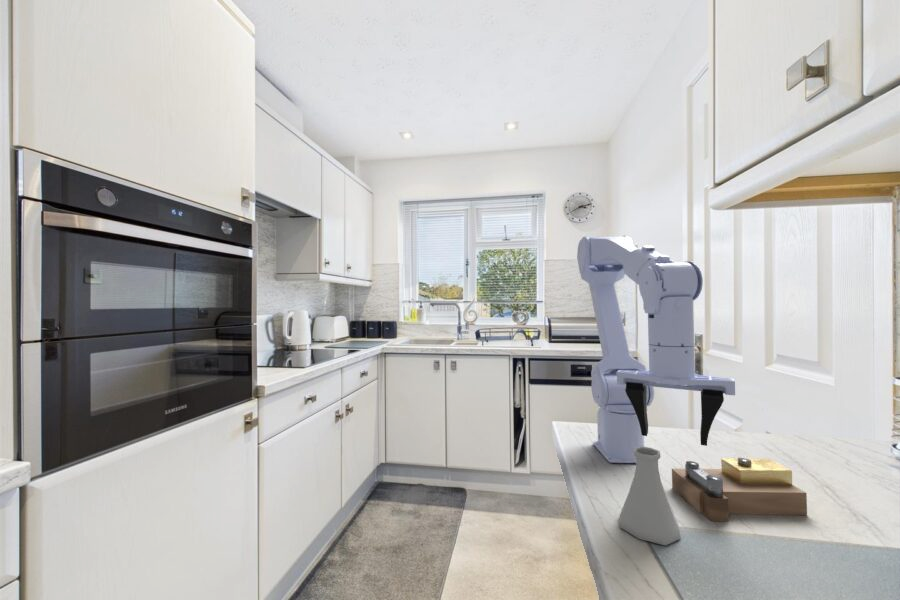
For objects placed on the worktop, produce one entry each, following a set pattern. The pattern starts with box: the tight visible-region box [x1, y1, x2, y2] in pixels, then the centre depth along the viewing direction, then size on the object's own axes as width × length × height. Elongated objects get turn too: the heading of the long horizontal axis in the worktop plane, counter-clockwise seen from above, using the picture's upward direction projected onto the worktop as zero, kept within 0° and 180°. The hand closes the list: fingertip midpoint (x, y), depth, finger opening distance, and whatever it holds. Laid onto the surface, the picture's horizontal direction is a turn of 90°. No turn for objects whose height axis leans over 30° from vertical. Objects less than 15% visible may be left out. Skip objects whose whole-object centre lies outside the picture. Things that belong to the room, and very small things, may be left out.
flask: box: [618, 446, 682, 546], centre depth 48 cm, size 7×7×10 cm
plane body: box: [671, 468, 808, 522], centre depth 53 cm, size 9×14×3 cm, turn 86°
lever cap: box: [720, 457, 793, 485], centre depth 54 cm, size 4×7×3 cm, turn 86°
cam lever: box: [684, 460, 723, 498], centre depth 52 cm, size 7×2×2 cm, turn 176°
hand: (673, 438), depth 53 cm, fingers open, 7 cm apart
